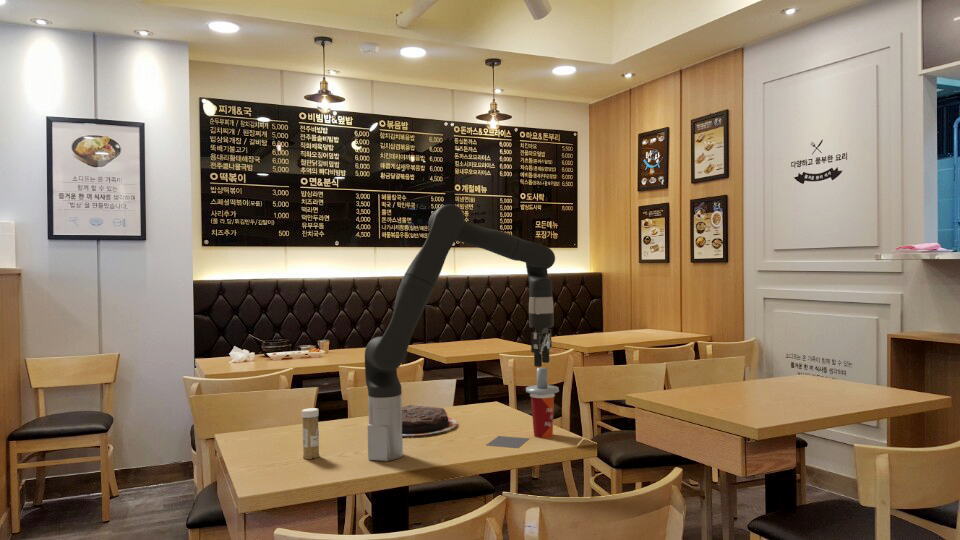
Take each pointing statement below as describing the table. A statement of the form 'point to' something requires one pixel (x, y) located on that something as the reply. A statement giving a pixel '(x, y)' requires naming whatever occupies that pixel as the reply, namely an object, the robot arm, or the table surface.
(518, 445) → the mat
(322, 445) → the table surface
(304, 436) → the sprinkles bottle
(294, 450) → the table surface
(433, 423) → the chocolate cake
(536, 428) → the paper cup
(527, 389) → the lid
